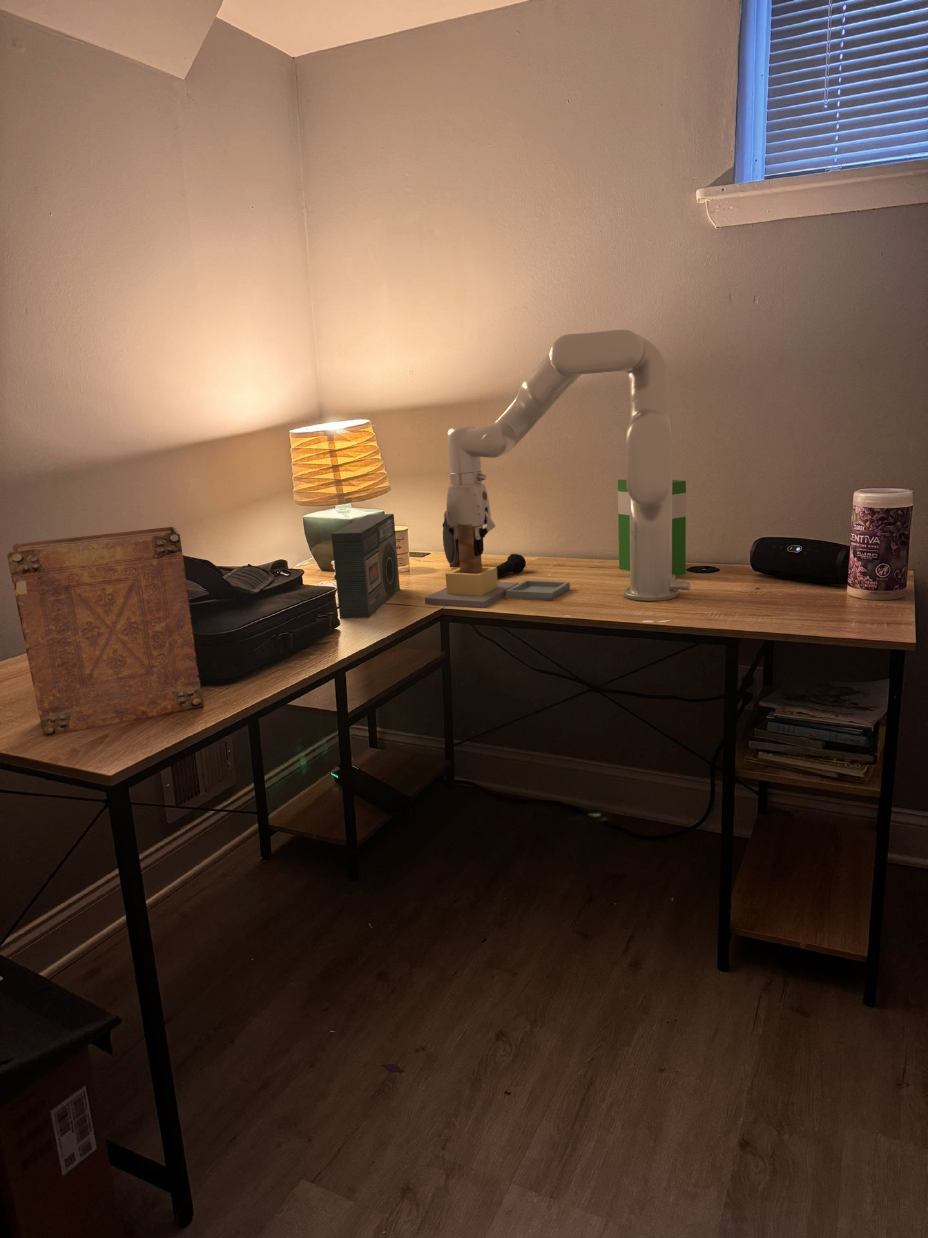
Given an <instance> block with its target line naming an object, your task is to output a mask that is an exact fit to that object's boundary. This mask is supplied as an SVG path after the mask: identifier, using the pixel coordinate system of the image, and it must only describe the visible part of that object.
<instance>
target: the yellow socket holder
mask: <svg viewBox="0 0 928 1238" xmlns="http://www.w3.org/2000/svg"><path fill="white" fill-rule="evenodd" d="M445 584H446V586H445V588H443V589H440V590H438V591H436V592H434V593H431V594H430V595H428V596H425V597H424V605H435V606H451V607H452V606H453V607H466V608H467V607H468V608H484V609H485V608H486V607H488V606H490V605H492V604H494V603H495V602H497V601H499V600H500V599H502V598H504V597H506V590H508V589H510V588H511V587H513V586H515V585H517V584H519V582H514V581H513V582H511V581H510V582H509V581H498V578H497V567H496V566H482V572H481V573H479V574H468V573H460V567H459V568H457V567H456V568H455V569H452V570H450V571H448V572H446V573H445Z"/></svg>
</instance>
